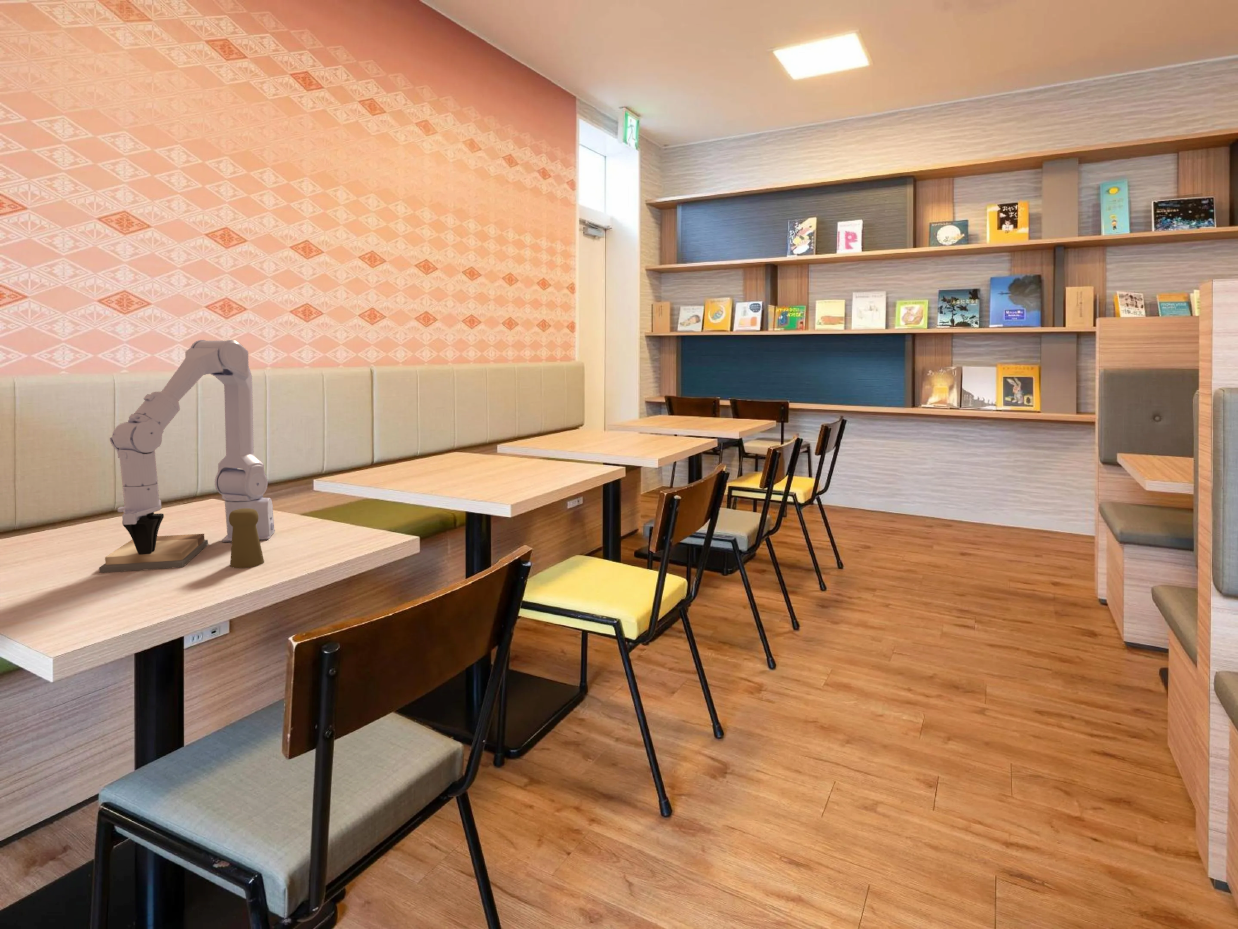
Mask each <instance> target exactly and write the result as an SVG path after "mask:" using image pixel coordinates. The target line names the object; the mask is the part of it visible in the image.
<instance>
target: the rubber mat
mask: <svg viewBox="0 0 1238 929" xmlns="http://www.w3.org/2000/svg"><path fill="white" fill-rule="evenodd" d="M208 545H209V539H205V540H204V541H203V542H202V543H201V544H200V545H199V546H197V547H196V548H195V549H194V550H193V551H192V552H191V553H190V554H188V555H187V556H186V557H185V558H184V559H183V560H175V561H159V562H143V563H128V564H112V565H106V563H104V564H102V565H101V566H99V567H98V570H99V573H100V572H103V573H113V571H118V572H125V571H124V570H133V571H144V570H143V569H148V570H158V569H157V568H163V569H173V568H172V567H178V568H183V567H185V566H186V565H187V564H188V563H189V562H191V561H192V559H193V558H195V557H196V556H197V555H198V554H199V553H200V552H201V551H202V550H204V548H206V547H207V546H208ZM205 546H206V547H205ZM195 555H196V556H195ZM194 556H195V557H194ZM185 564H186V565H185ZM184 565H185V566H184Z"/></svg>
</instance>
